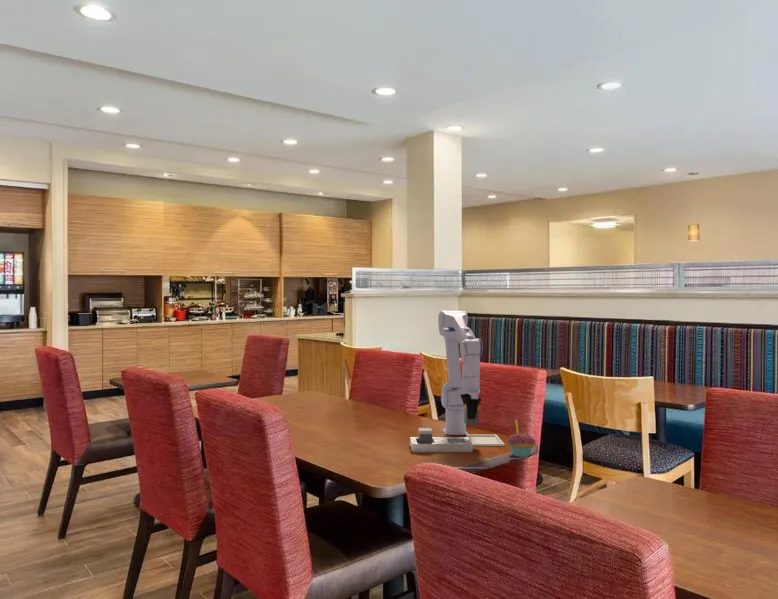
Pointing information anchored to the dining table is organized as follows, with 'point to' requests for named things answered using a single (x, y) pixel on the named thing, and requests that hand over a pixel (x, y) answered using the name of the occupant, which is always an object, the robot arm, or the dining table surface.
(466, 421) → the plug
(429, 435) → the twin plug
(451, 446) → the pdu strip
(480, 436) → the tray
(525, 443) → the cupcake
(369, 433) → the dining table surface
